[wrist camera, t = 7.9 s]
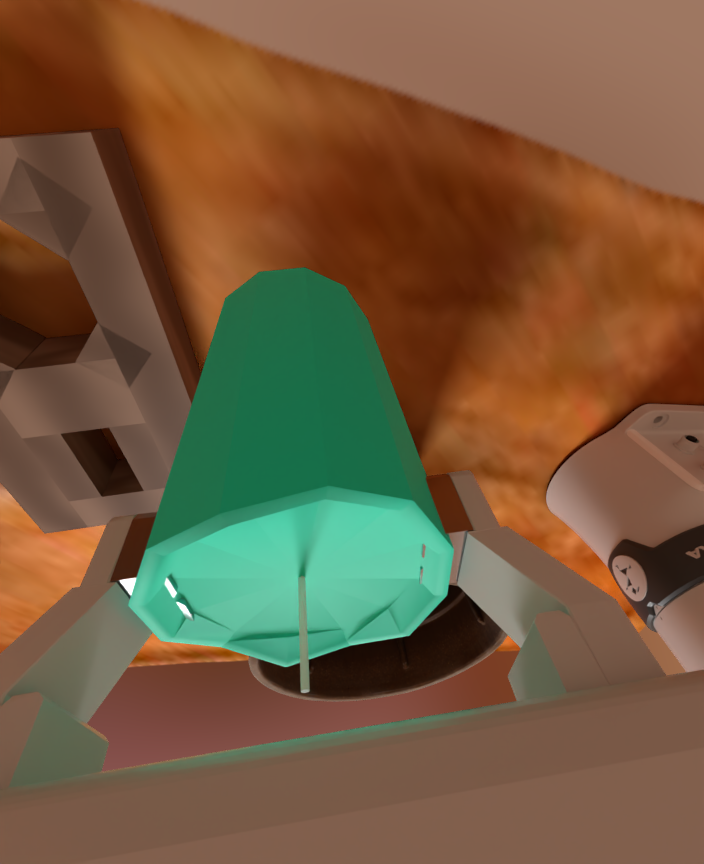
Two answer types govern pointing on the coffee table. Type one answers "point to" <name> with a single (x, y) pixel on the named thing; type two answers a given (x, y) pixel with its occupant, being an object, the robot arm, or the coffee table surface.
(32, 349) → the socket block
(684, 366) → the coffee table surface
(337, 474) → the candle
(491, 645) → the plant pot
